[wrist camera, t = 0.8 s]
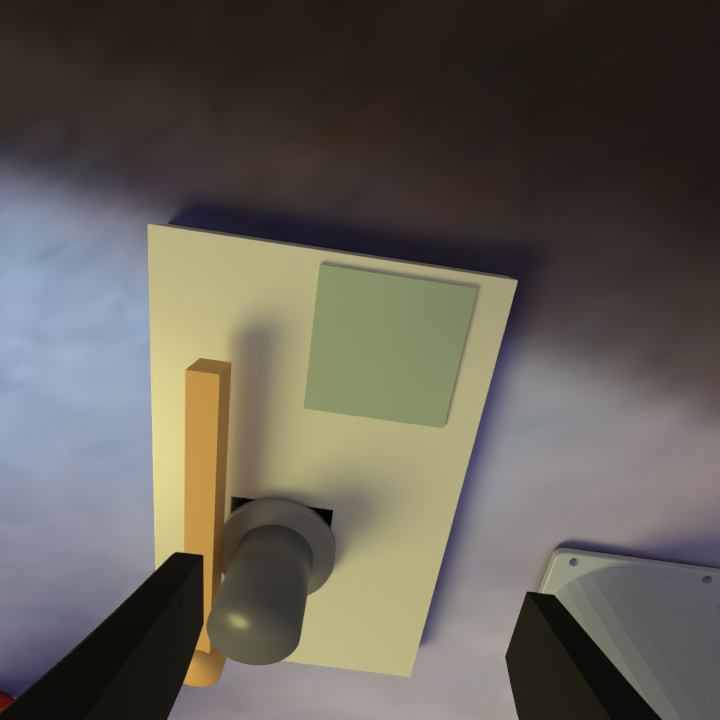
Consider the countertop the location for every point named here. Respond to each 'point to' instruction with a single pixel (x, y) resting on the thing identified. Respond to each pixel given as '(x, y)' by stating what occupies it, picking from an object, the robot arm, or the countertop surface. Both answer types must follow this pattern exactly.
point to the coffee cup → (5, 700)
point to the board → (330, 412)
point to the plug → (268, 578)
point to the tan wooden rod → (206, 494)
